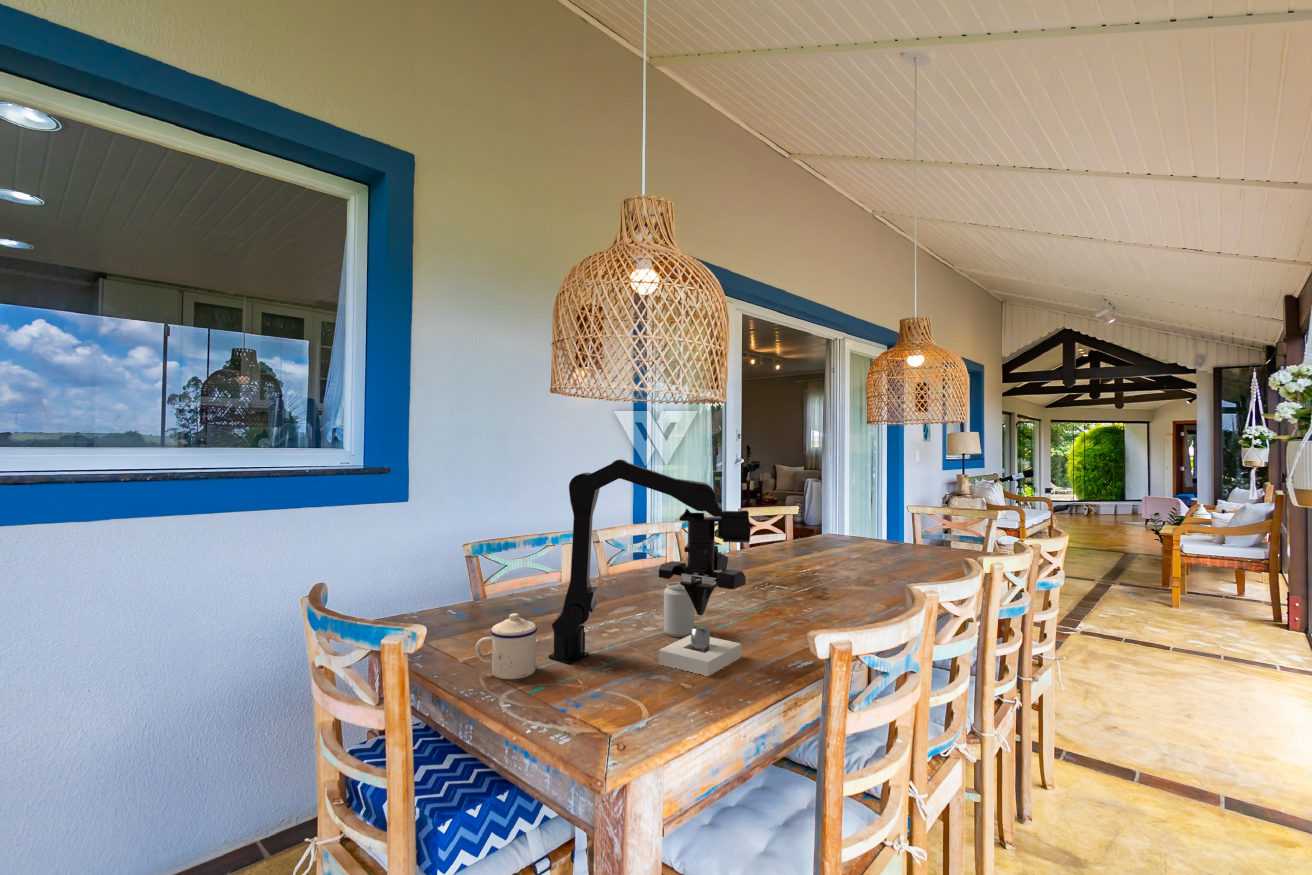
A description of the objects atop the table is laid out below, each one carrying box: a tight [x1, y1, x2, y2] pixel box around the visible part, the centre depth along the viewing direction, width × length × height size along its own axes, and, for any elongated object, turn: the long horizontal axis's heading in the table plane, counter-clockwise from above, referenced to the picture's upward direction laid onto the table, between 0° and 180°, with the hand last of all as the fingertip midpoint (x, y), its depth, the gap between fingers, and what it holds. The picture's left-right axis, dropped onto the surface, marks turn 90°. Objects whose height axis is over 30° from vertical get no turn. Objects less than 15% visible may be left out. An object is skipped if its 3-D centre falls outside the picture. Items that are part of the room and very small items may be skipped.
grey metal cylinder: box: [691, 624, 711, 653], centre depth 134 cm, size 4×4×7 cm
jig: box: [658, 635, 742, 677], centre depth 134 cm, size 14×12×3 cm
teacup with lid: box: [475, 612, 538, 680], centre depth 126 cm, size 12×9×12 cm
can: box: [663, 581, 695, 638], centre depth 152 cm, size 8×8×12 cm
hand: (700, 614), depth 134 cm, fingers closed
